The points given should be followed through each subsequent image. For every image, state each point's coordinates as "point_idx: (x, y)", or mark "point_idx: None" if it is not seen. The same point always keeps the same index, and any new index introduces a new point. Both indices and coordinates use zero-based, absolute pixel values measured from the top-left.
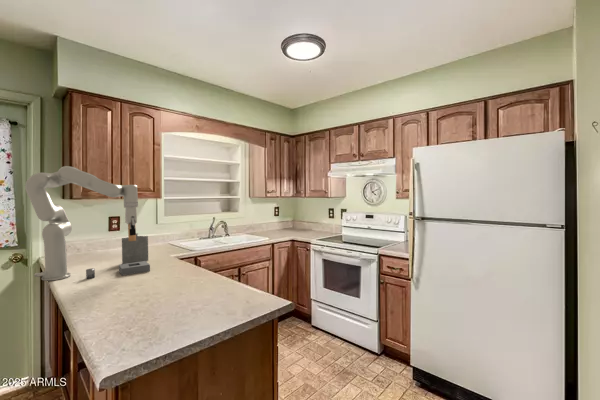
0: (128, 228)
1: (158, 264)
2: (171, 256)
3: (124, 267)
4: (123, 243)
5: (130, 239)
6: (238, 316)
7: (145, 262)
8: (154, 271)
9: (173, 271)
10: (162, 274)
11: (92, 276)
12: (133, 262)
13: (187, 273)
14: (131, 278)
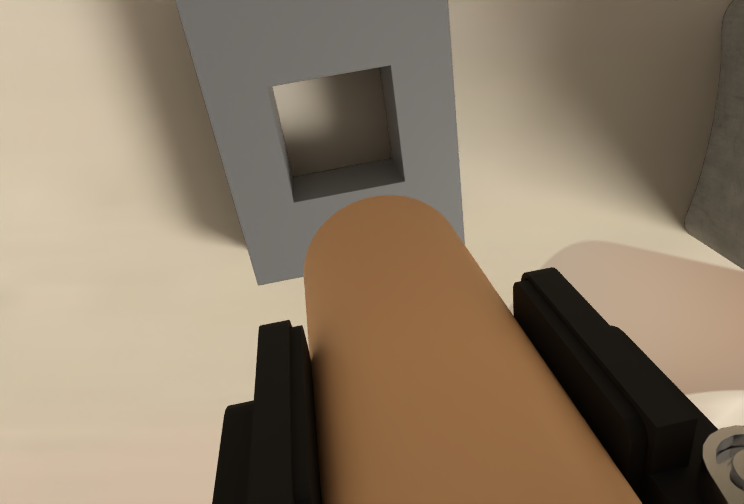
0: (425, 473)
1: None
2: (701, 398)
3: (234, 27)
4: None
5: (312, 259)
6: None
7: None
8: (224, 286)
9: (155, 412)
10: (81, 343)
11: None
12: (717, 106)
13: (47, 490)
14: (16, 92)
